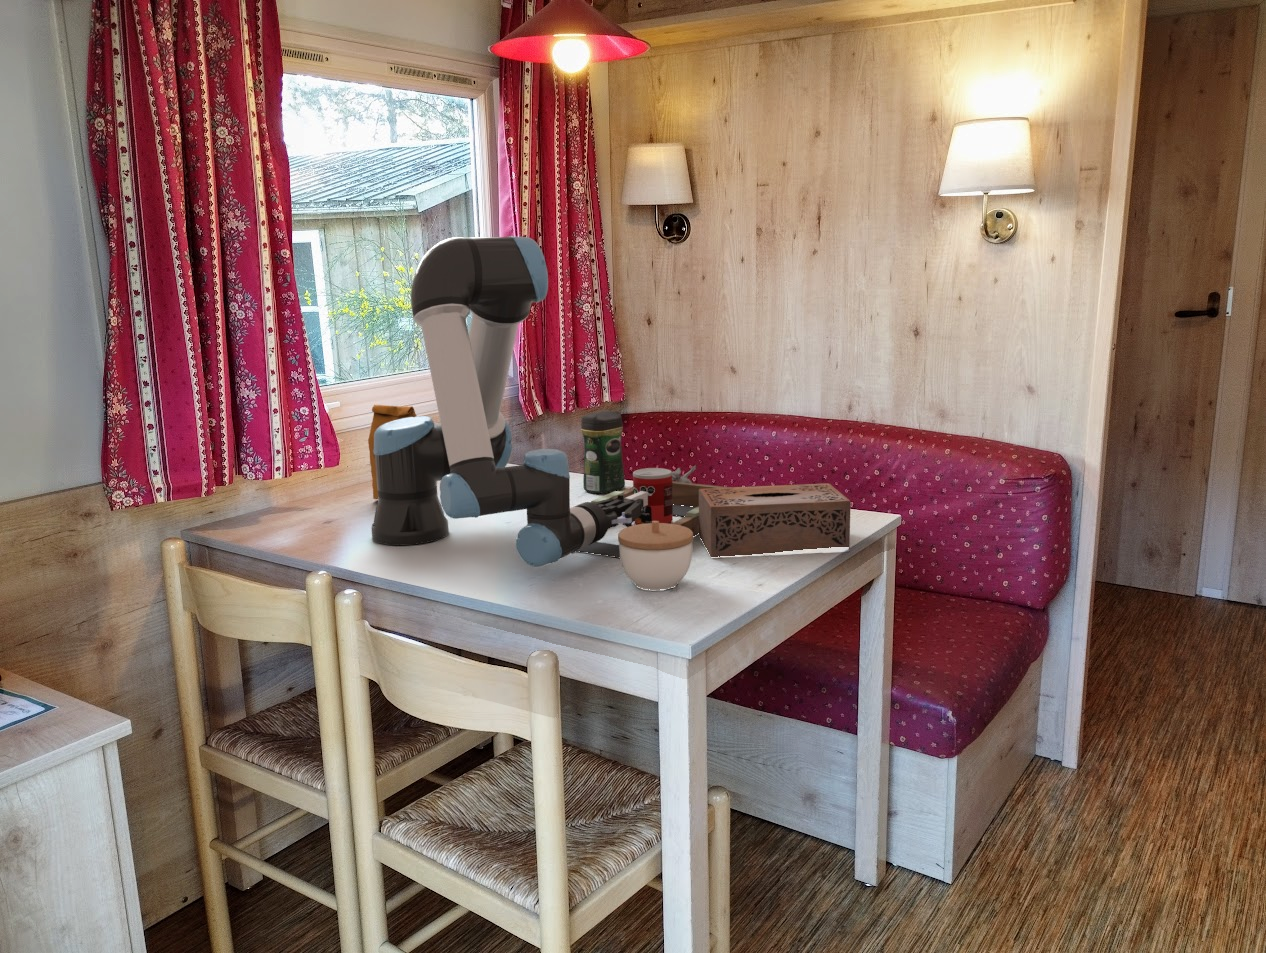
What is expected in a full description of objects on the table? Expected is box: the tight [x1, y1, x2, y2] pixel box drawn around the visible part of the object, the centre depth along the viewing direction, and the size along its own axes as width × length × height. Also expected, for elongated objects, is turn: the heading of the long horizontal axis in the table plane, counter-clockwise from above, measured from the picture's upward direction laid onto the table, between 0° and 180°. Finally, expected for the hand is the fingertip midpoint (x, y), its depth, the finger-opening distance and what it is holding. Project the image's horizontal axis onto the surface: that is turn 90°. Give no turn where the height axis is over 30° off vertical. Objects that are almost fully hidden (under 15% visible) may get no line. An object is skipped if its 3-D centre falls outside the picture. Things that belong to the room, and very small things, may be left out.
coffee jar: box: [580, 410, 626, 494], centre depth 242 cm, size 10×8×19 cm
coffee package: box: [367, 404, 418, 500], centre depth 236 cm, size 10×12×22 cm
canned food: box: [632, 467, 674, 525], centre depth 213 cm, size 8×8×11 cm
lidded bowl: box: [617, 521, 694, 590], centre depth 175 cm, size 13×13×11 cm
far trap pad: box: [673, 505, 696, 517], centre depth 223 cm, size 8×19×1 cm, turn 60°
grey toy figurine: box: [672, 465, 697, 483], centre depth 236 cm, size 10×6×9 cm
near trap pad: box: [577, 541, 620, 557], centre depth 197 cm, size 6×19×1 cm, turn 60°
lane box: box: [591, 480, 730, 536], centre depth 211 cm, size 40×24×5 cm, turn 150°
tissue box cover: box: [698, 482, 852, 557], centre depth 197 cm, size 26×14×10 cm, turn 95°
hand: (644, 497), depth 209 cm, fingers closed
